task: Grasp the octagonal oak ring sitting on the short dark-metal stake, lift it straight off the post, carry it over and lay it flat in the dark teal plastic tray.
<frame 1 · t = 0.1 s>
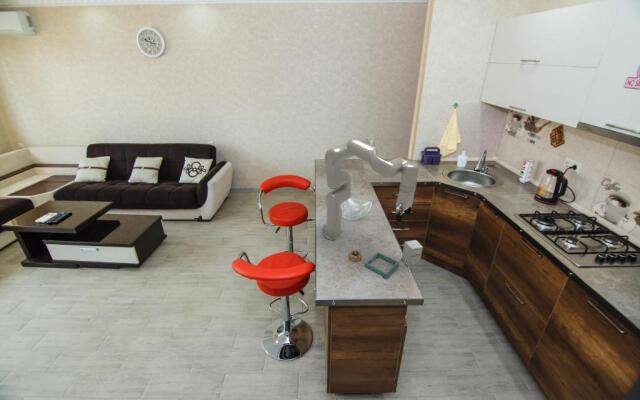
hand: (403, 217, 157), 31 cm above the worktop, fingers open, 9 cm apart
ring: (355, 257, 175), point 1 cm above the worktop, touching stake
supplement box: (410, 262, 174), on the worktop
stake: (355, 259, 176), on the worktop
tray: (381, 267, 170), on the worktop
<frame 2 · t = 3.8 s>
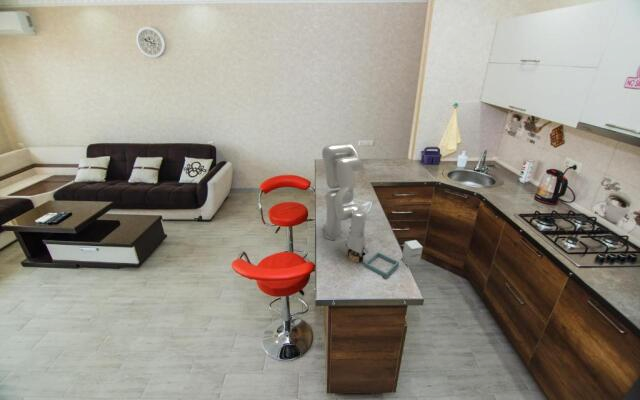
hand: (355, 257, 175), 1 cm above the worktop, fingers closed on ring, 7 cm apart
ring: (355, 257, 175), point 1 cm above the worktop, touching gripper, stake
everything else where it was.
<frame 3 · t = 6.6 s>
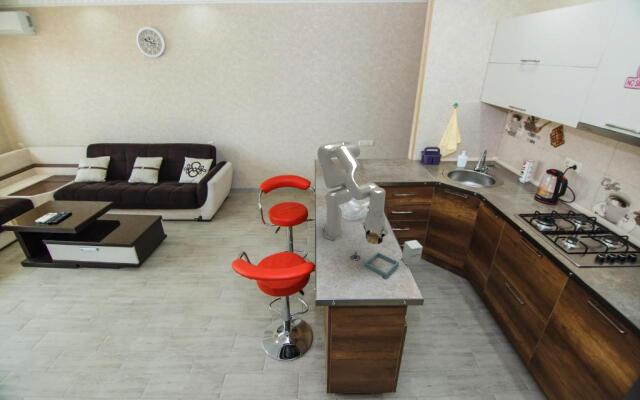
hand: (373, 240, 164), 17 cm above the worktop, fingers closed on ring, 7 cm apart
ring: (373, 240, 164), point 17 cm above the worktop, touching gripper
everything else where it was.
when the fingers open (3 cm above the worktop, at t = 9.3 s): ring drops 2 cm, resting on tray.
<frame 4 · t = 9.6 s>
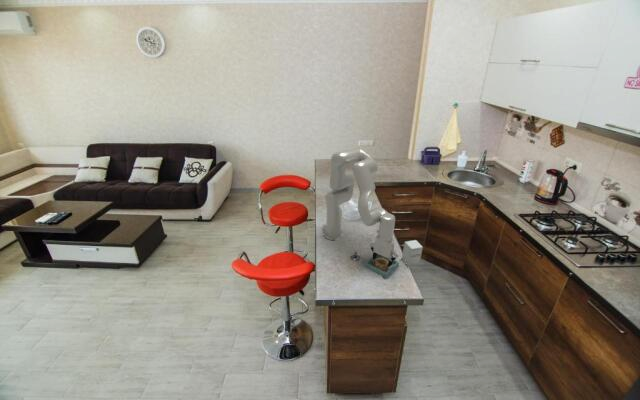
hand: (382, 261, 168), 4 cm above the worktop, fingers open, 9 cm apart
ring: (381, 266, 169), point 1 cm above the worktop, touching tray
everything else where it was.
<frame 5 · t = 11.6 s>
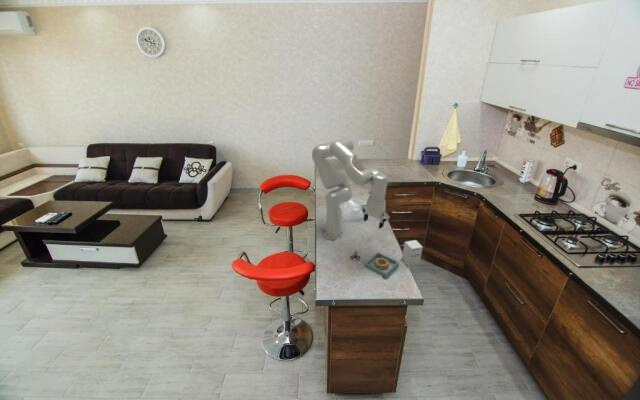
hand: (373, 223, 166), 23 cm above the worktop, fingers open, 9 cm apart
nothing on the worktop moved.
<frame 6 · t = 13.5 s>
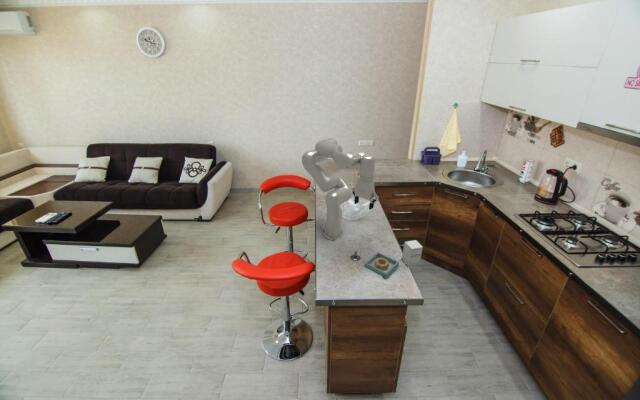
hand: (363, 205, 170), 30 cm above the worktop, fingers open, 9 cm apart
nothing on the worktop moved.
at the end: ring inside the target area on the tray (0.0 cm from its centre), point 0.8 cm above the tray's base; ring tilted 0°; the gripper is holding nothing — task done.
